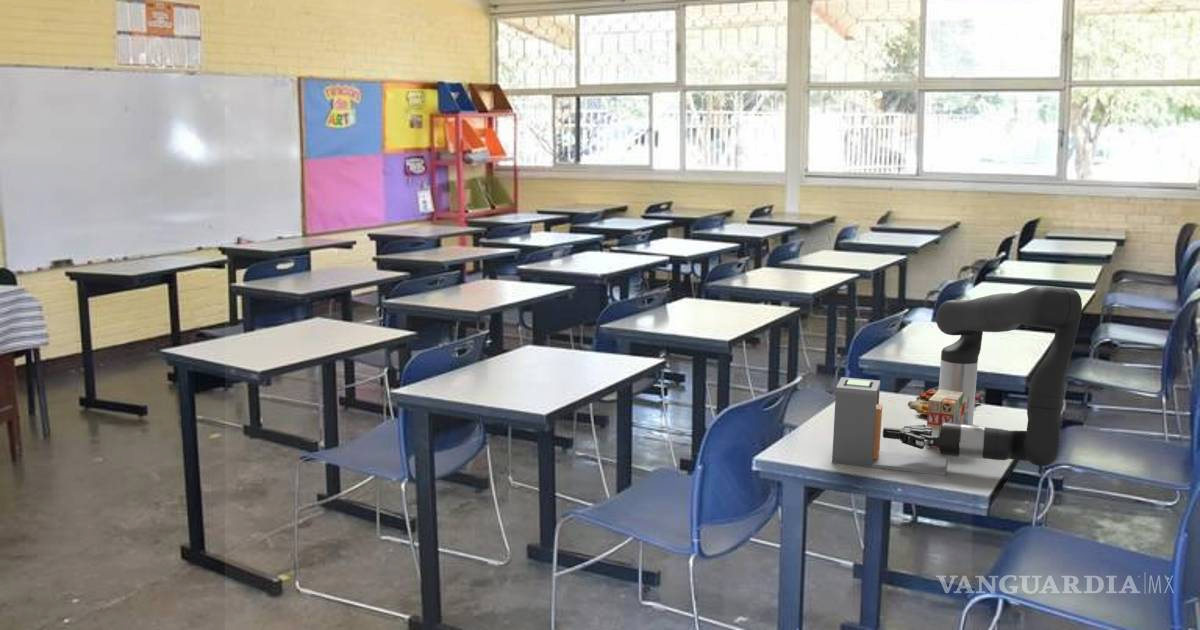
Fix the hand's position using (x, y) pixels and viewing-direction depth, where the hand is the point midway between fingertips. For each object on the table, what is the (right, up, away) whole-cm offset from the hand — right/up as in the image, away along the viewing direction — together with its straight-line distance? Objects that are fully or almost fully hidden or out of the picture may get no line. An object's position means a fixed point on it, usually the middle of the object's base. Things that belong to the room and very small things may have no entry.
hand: (883, 432), depth 240 cm
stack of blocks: (+22, -4, +21) cm, 31 cm away
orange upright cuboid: (-5, -7, +3) cm, 8 cm away
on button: (-6, +7, +1) cm, 9 cm away
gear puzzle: (+30, +1, +52) cm, 60 cm away
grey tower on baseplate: (+2, -7, +1) cm, 7 cm away
